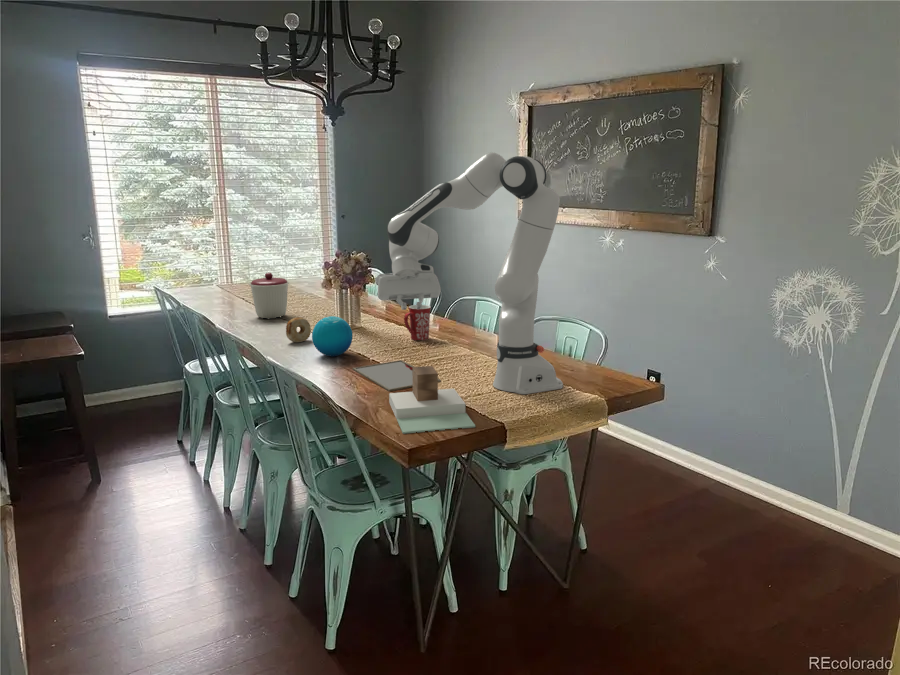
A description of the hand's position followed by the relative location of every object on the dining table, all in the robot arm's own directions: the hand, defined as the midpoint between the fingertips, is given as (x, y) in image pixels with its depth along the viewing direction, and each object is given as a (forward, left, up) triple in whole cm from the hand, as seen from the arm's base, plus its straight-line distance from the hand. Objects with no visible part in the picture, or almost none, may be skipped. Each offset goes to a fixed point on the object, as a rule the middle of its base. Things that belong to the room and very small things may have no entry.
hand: (411, 308), depth 214 cm
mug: (-12, -59, -26) cm, 65 cm away
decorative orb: (+23, -42, -26) cm, 54 cm away
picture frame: (+4, -12, -26) cm, 29 cm away
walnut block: (0, +20, -22) cm, 30 cm away
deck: (0, +22, -25) cm, 34 cm away
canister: (+47, -117, -26) cm, 128 cm away
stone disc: (+35, -66, -26) cm, 79 cm away
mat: (0, +35, -25) cm, 44 cm away
